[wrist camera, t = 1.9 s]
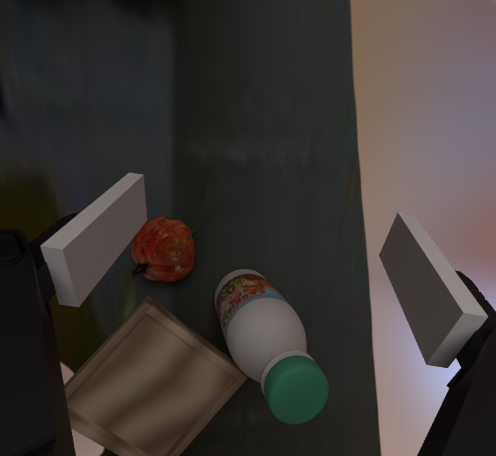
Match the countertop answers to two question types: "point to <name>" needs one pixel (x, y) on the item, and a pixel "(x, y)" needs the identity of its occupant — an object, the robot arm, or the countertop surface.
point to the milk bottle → (270, 345)
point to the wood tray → (150, 385)
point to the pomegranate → (163, 250)
